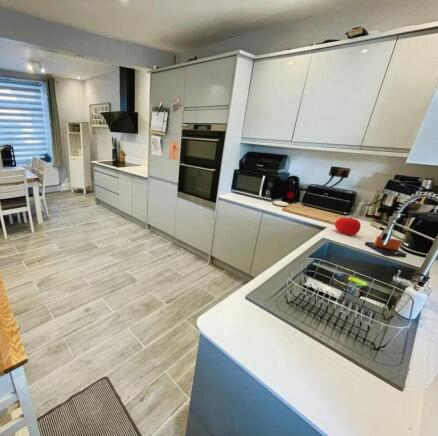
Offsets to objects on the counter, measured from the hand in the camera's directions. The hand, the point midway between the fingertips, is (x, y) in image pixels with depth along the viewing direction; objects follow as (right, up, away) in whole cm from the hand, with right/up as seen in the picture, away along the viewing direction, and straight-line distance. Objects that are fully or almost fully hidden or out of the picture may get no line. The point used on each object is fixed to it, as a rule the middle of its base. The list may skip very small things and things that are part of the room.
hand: (409, 214), depth 139 cm
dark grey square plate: (-10, -21, +5) cm, 24 cm away
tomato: (-14, -12, +29) cm, 34 cm away
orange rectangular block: (-10, -20, +4) cm, 22 cm away
